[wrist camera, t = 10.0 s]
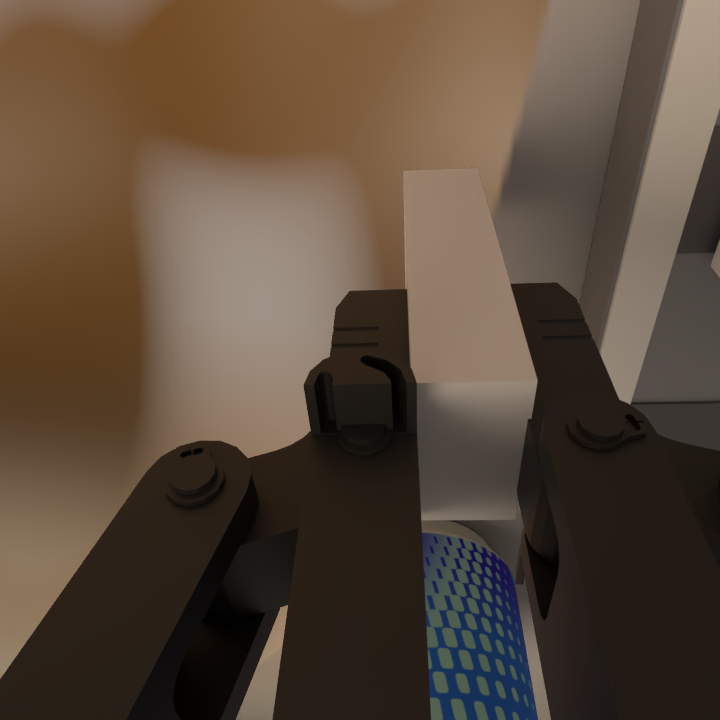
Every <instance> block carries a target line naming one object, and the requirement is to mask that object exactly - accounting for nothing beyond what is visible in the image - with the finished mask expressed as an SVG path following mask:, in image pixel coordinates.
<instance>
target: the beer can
mask: <svg viewBox="0 0 720 720" xmlns="http://www.w3.org/2000/svg"><path fill="white" fill-rule="evenodd" d="M421 523H422V543H423V563H424V584H425V604H426V625H427V645H428V665H429V686H430V706H431V720H538V717H537V711H536V706H535V700H534V694H533V688H532V682H531V676H530V671H529V665H528V659H527V653H526V647H525V641H524V636H523V630H522V624H521V618H520V612H519V606H518V601H517V595H516V589H515V583H514V578H513V575H512V573H511V570H510V569H509V567H508V565H507V564H506V563H505V562H504V560H503V559H502V558H501V557H500V556H499V555H497V554H496V553H495V552H494V551H492V550H491V549H490V548H489V546H488V545H487V543H486V542H485V541H484V540H483V539H482V538H481V537H480V536H479V535H478V534H476V533H475V532H474V531H472V530H471V529H469V528H467V527H465V526H463V525H461V524H458V523H456V522H453V521H450V520H421Z"/></svg>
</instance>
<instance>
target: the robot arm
mask: <svg viewBox="0 0 720 720" xmlns="http://www.w3.org/2000/svg"><path fill="white" fill-rule="evenodd" d="M403 175H404V176H403V180H404V232H405V233H404V235H405V289H399V290H368V291H349V293H348V294H347V295H346V297H345V298H344V299H343V300H342V301H341V303H340V304H339V305H338V306H337V308H336V312H335V320H334V327H333V328H334V332H333V335H332V343H331V344H332V348H331V352H330V357H329V358H327V359H324V360H322V361H321V362H320V363H319V364H318V365H317V366H316V367H314V368H313V369H312V370H311V371H310V372H309V375H308V377H307V379H306V381H305V383H304V391H305V397H306V403H307V410H308V416H309V422H310V428H311V431H310V432H309V433H308V434H307V435H306V436H305V437H304V438H302V439H300V440H299V441H297V442H295V443H294V444H292V445H290V446H287V447H285V448H282V449H279V450H276V451H273V452H270V453H266V454H262V455H258V456H255V457H251V458H247V457H246V456H245V455H244V454H243V453H242V452H241V451H240V450H239V449H238V448H237V447H235V446H232V445H230V444H227V443H224V442H222V441H197V442H194V443H190V444H186V445H182V446H179V447H177V448H176V449H174V450H172V451H170V452H169V453H167V454H165V455H163V456H162V457H160V459H158V460H157V462H156V463H155V464H154V465H153V466H152V467H151V468H150V469H149V470H148V471H147V472H146V473H145V475H144V476H143V478H142V479H141V480H140V482H139V483H138V485H137V486H136V487H135V489H134V490H133V492H132V493H131V495H130V496H129V497H128V499H127V500H126V502H125V503H124V505H123V506H122V507H121V509H120V510H119V512H118V513H117V514H116V516H115V517H114V519H113V520H112V522H111V523H110V524H109V526H108V527H107V529H106V530H105V531H104V533H103V534H102V536H101V537H100V539H99V540H98V541H97V543H96V544H95V546H94V547H93V549H92V550H91V551H90V553H89V554H88V556H87V557H86V558H85V560H84V561H83V563H82V564H81V566H80V567H79V568H78V570H77V571H76V573H75V574H74V575H73V577H72V578H71V580H70V581H69V583H68V584H67V585H66V587H65V588H64V590H63V591H62V593H61V594H60V595H59V597H58V598H57V600H56V601H55V602H54V604H53V605H52V607H51V608H50V610H49V611H48V613H47V614H46V615H45V617H44V618H43V619H42V621H41V622H40V624H39V625H38V627H37V628H36V629H35V631H34V632H33V634H32V635H31V636H30V638H29V639H28V641H27V642H26V644H25V645H24V646H23V648H22V649H21V651H20V652H19V654H18V655H17V656H16V658H15V659H14V661H13V662H12V664H11V665H10V666H9V668H8V669H7V671H6V672H5V673H4V675H3V676H2V678H1V679H0V720H236V717H237V715H238V712H239V710H240V707H241V705H242V702H243V700H244V697H245V695H246V692H247V690H248V687H249V685H250V682H251V680H252V677H253V675H254V672H255V670H256V667H257V665H258V662H259V660H260V657H261V655H262V652H263V650H264V647H265V645H266V643H267V640H268V637H269V635H270V633H271V630H272V627H273V625H274V623H275V620H276V618H277V615H278V612H279V610H280V607H283V606H286V605H288V611H287V618H286V625H285V633H284V640H283V647H282V655H281V662H280V669H279V677H278V684H277V691H276V699H275V706H274V713H273V720H431V706H430V686H429V665H428V645H427V625H426V604H425V584H424V563H423V543H422V523H421V520H515V518H516V511H517V505H518V500H519V505H520V510H521V515H522V520H523V525H524V529H523V534H522V540H521V545H520V551H519V557H518V562H517V568H516V582H515V584H523V583H524V578H525V580H526V585H527V591H528V596H529V602H530V607H531V612H532V618H533V623H534V629H535V634H536V640H537V645H538V650H539V656H540V661H541V667H542V672H543V678H544V683H545V688H546V694H547V699H548V705H549V710H550V716H551V720H720V451H718V450H713V449H709V448H704V447H699V446H695V445H690V444H686V443H682V442H679V441H675V440H672V439H668V438H666V437H664V436H661V435H659V434H657V432H656V430H655V428H654V427H653V426H652V424H651V423H650V422H649V420H648V419H647V418H646V416H645V415H644V414H643V413H641V412H640V411H638V410H637V409H635V408H634V407H633V406H631V405H630V404H628V403H627V402H624V401H621V400H619V397H618V395H617V393H616V390H615V388H614V386H613V383H612V381H611V379H610V376H609V374H608V372H607V369H606V367H605V364H604V362H603V360H602V357H601V355H600V353H599V350H598V348H597V346H596V343H595V341H594V339H592V334H591V332H590V329H589V327H588V325H587V323H585V318H584V315H583V313H582V310H581V308H580V306H579V303H578V301H577V299H576V298H575V297H574V296H572V295H571V294H570V293H569V292H568V291H566V290H565V289H564V288H563V287H562V286H560V285H559V284H558V283H526V284H510V281H509V278H508V274H507V271H506V267H505V264H504V260H503V257H502V253H501V250H500V246H499V242H498V239H497V235H496V232H495V228H494V225H493V221H492V218H491V214H490V211H489V207H488V204H487V200H486V197H485V193H484V190H483V186H482V183H481V179H480V175H479V172H478V168H461V169H438V170H415V171H403Z"/></svg>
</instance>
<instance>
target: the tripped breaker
mask: <svg viewBox="0 0 720 720" xmlns="http://www.w3.org/2000/svg"><path fill="white" fill-rule="evenodd" d="M711 267H712V269H713V270H714V271H715V272H716V274H717V275H718V276H719V277H720V240H719V243H718V246H717V249H716V251H715V254H714V257H713V260H712V263H711Z"/></svg>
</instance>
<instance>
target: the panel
mask: <svg viewBox="0 0 720 720" xmlns="http://www.w3.org/2000/svg"><path fill="white" fill-rule="evenodd" d="M719 240H720V0H641V3H640V8H639V13H638V18H637V23H636V28H635V33H634V38H633V43H632V48H631V52H630V57H629V62H628V67H627V72H626V77H625V82H624V87H623V92H622V97H621V102H620V107H619V112H618V117H617V122H616V127H615V132H614V137H613V142H612V147H611V152H610V157H609V162H608V167H607V172H606V177H605V182H604V187H603V192H602V196H601V201H600V206H599V211H598V216H597V221H596V226H595V231H594V236H593V241H592V246H591V251H590V256H589V261H588V266H587V271H586V276H585V281H584V286H583V291H582V296H581V301H580V308H581V310H582V313H583V315H584V318H585V323H587V325H588V327H589V329H590V332H591V334H592V339H594V341H595V343H596V346H597V348H598V350H599V353H600V355H601V357H602V360H603V362H604V364H605V367H606V369H607V372H608V374H609V376H610V379H611V381H612V383H613V386H614V388H615V390H616V393H617V395H618V397H619V400H621V401H624V402H627V403H628V404H630V405H631V406H633V407H634V408H635V409H637V410H638V411H640V412H641V413H643V414H644V415H645V416H646V418H647V419H648V420H649V422H650V423H651V424H652V426H653V427H654V428H655V430H656V432H657V434H659V435H661V436H664V437H666V438H668V439H672V440H675V441H679V442H682V443H686V444H690V445H695V446H699V447H704V448H709V449H713V450H718V451H720V277H719V276H718V275H717V274H716V272H715V271H714V270H713V269H712V267H711V263H712V260H713V257H714V254H715V251H716V249H717V246H718V243H719Z"/></svg>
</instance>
